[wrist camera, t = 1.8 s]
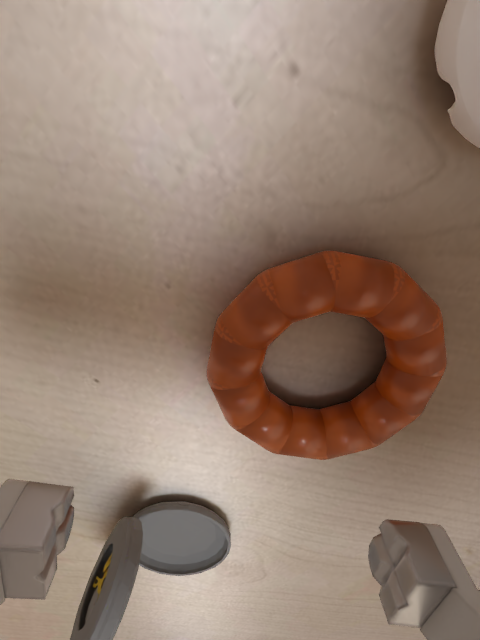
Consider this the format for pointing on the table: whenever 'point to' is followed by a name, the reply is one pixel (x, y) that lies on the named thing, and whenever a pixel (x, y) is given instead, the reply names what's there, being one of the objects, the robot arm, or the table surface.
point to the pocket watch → (148, 559)
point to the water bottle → (461, 64)
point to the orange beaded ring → (311, 300)
